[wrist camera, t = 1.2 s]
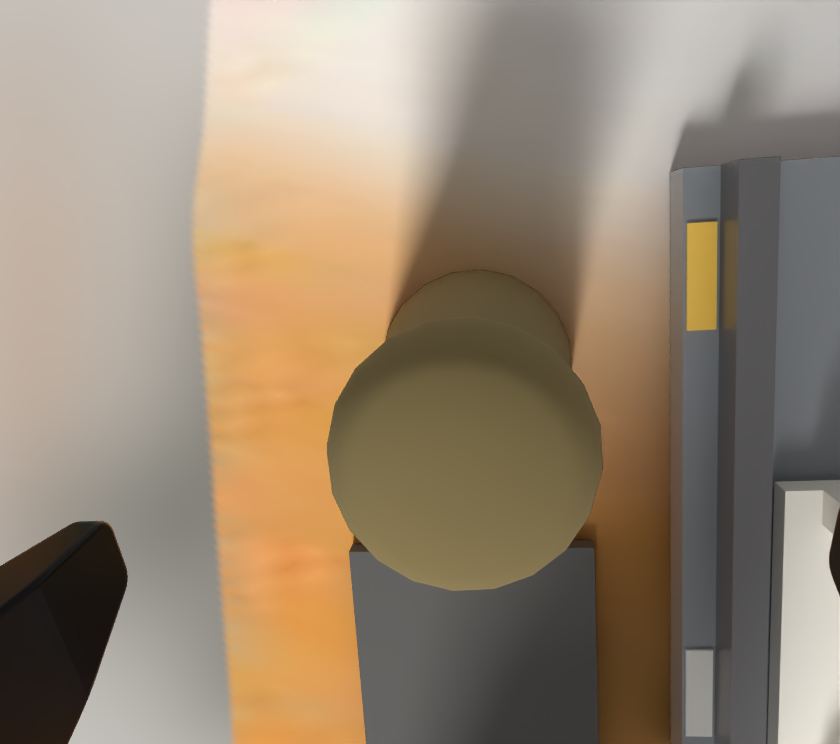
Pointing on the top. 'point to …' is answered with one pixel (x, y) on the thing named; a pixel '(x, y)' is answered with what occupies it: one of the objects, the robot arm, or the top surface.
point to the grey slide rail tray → (744, 415)
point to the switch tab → (804, 616)
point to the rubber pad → (478, 656)
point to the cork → (467, 437)
